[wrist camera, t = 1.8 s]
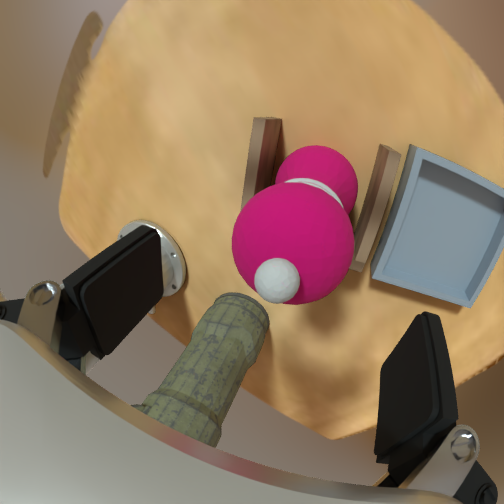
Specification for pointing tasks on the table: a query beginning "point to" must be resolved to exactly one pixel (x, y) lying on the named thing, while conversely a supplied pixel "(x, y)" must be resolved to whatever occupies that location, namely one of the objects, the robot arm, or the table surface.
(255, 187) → the walnut bay
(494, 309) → the table surface
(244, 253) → the pepper mill
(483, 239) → the slate tray
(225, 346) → the olive piece
